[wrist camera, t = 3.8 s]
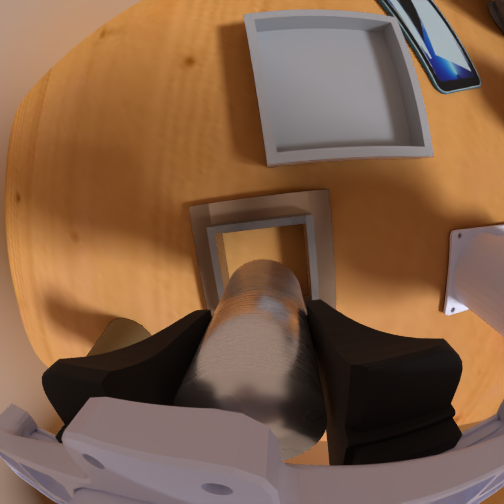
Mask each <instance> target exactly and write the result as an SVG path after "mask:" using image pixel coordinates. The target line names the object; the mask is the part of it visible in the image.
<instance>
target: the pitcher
mask: <svg viewBox="0 0 504 504" xmlns="http://www.w3.org/2000/svg"><path fill="white" fill-rule="evenodd" d="M488 10H489V12H490V14H491V16H492V18H493V19H494V21H495V22H496V24H497V25H498V27H499V28H500V29H501V30H502V32H503V33H504V0H494V1H490V2H489V3H488Z"/></svg>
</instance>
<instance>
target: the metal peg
mask: <svg viewBox="0 0 504 504" xmlns="http://www.w3.org/2000/svg"><path fill="white" fill-rule="evenodd" d="M173 406H176V407H190V408H212V409H220V410H225V411H231V412H237V413H243V414H245V415H247V416H248V417H250V418H252V419H254V420H256V421H258V422H260V423H262V424H264V425H266V426H268V427H269V428H270V429H271V431H272V432H273V434H274V435H275V437H276V438H277V440H278V441H279V446H280V454H281V458H282V461H285V460H288V459H291V458H294V457H296V456H299V455H301V454H302V453H304V452H306V451H308V450H309V449H311V448H312V447H313V446H314V445H315V444H316V443H317V442H318V441H319V440H320V439H321V437H322V436H323V434H324V432H325V430H326V427H327V412H326V407H325V401H324V396H323V391H322V385H321V380H320V375H319V370H318V365H317V360H316V355H315V351H314V346H313V341H312V336H311V332H310V328H309V323H308V319H307V314H306V309H305V305H304V301H303V296H302V292H301V288H300V284H299V282H298V279H297V278H296V276H295V274H294V273H293V272H292V271H291V270H290V269H289V268H288V267H286V266H285V265H283V264H281V263H279V262H276V261H273V260H267V259H259V260H254V261H250V262H248V263H246V264H244V265H242V266H241V267H239V268H238V269H237V270H236V271H235V272H234V273H233V275H232V276H231V278H230V280H229V282H228V284H227V287H226V289H225V291H224V293H223V295H222V297H221V299H220V302H219V304H218V306H217V308H216V310H215V312H214V314H213V317H212V319H211V321H210V323H209V325H208V327H207V329H206V332H205V334H204V336H203V338H202V340H201V342H200V345H199V347H198V349H197V351H196V353H195V355H194V358H193V360H192V362H191V364H190V366H189V369H188V371H187V373H186V375H185V377H184V379H183V382H182V384H181V386H180V388H179V390H178V393H177V395H176V397H175V399H174V402H173Z"/></svg>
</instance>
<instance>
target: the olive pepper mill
mask: <svg viewBox="0 0 504 504" xmlns="http://www.w3.org/2000/svg"><path fill="white" fill-rule="evenodd" d="M150 336H151V334H150V333H149V332H148V331H147V330H146V329H145V328H144V327H143V326H142V325H140V324H138V323H137V322H135V321H133V320H129V319H126V318H120V319H116V320H113V321H111V323H110V324H109V325H108V327H107V328H106V329H105V331H104V332H103V333H102V335H101V336H100V338H99V339H98V340H97V342H96V343H95V345H94V346H93V347H92V349H91V350H90V352H89V353H88V355H87V356H93V355H98V354H103V353H107V352H111V351H114V350H117V349H121V348H124V347H127V346H130V345H132V344H135V343H137V342H140V341H142V340H144V339H146V338H148V337H150Z"/></svg>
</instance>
